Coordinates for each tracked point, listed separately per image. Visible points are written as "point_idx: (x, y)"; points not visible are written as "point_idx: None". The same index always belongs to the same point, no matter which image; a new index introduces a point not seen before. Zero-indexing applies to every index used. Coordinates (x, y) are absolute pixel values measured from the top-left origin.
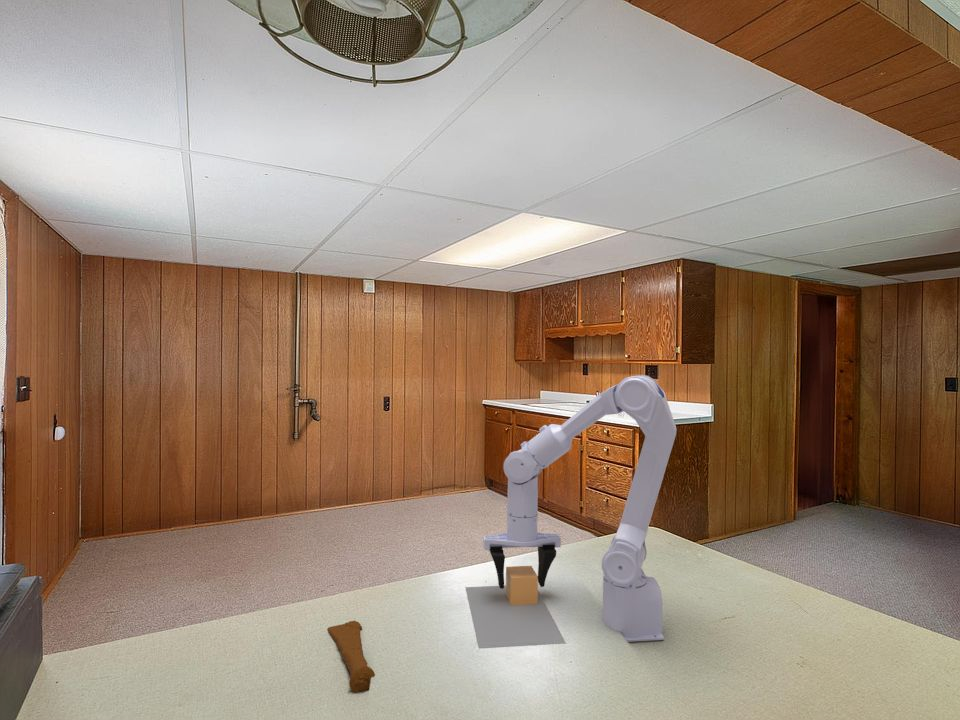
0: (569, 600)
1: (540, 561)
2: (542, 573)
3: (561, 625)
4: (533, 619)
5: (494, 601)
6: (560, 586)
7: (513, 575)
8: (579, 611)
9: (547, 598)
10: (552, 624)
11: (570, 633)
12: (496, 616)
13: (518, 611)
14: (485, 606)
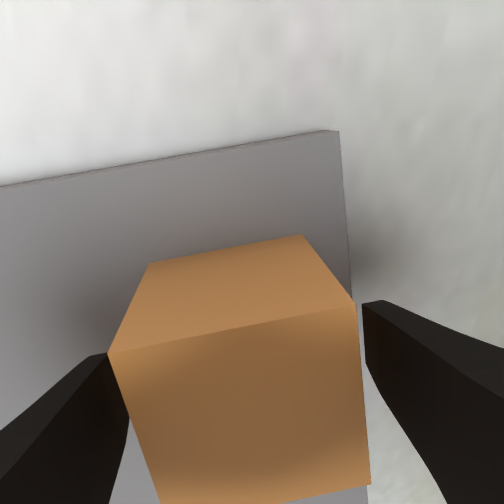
0: (486, 216)
1: (463, 449)
2: (418, 450)
3: (387, 418)
4: None
5: None
6: (494, 39)
7: (185, 491)
8: (493, 313)
9: (381, 204)
10: (353, 498)
11: (405, 458)
12: (123, 480)
13: None
14: None
